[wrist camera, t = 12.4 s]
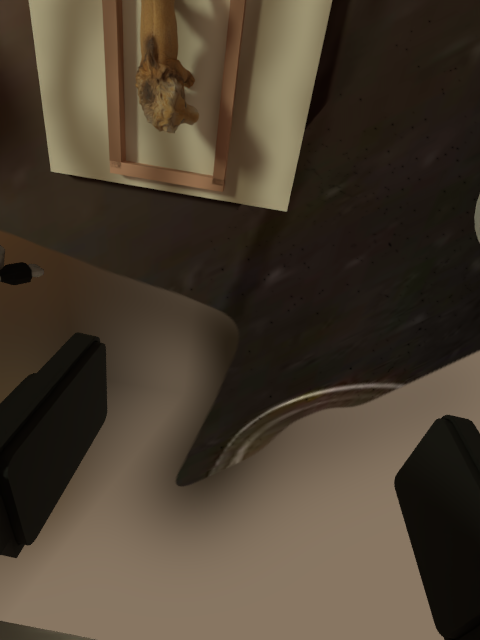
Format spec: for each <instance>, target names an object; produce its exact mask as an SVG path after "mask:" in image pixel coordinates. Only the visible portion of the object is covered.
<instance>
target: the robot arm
mask: <svg viewBox="0 0 480 640" xmlns="http://www.w3.org/2000/svg"><path fill="white" fill-rule="evenodd" d="M475 230H476V234H477V237H478V240H479V242H480V195H479V198H478V201H477V204H476V211H475ZM106 383H107V382H106V347H105V344H103V343H100V339H99V337H96V336H92V335H87V334H83V333H75V334H74V335H73V336H72V337H71V338H70V339H69V340H68V341H67V342H66V343H65V344H64V345H63V346H62V347H61V349H60V350H59V351H58V352H57V353H56V354H55V355H54V356H53V357H52V358H51V359H50V360H49V361H48V362H47V363H46V364H45V365H44V366H43V367H42V368H41V369H40V370H39V371H38V372H37V373H33V374H31V375H29V376H28V377H27V378H25V379H24V380H23V381H22V382H21V383H20V384H19V385H18V386H17V387H16V388H15V389H14V390H13V391H12V392H11V393H10V394H9V396H7V397H6V398H5V399H4V401H2V403H1V404H0V555H5V556H9V557H14V558H17V557H18V555H19V553H20V552H21V550H22V548H23V547H24V545H31V544H32V543H33V542H34V540H35V539H36V538H37V536H38V534H39V533H40V531H41V529H42V528H43V526H44V524H45V523H46V520H47V519H48V517H49V516H50V514H51V512H52V510H53V509H54V507H55V505H56V504H57V502H58V500H59V499H60V497H61V495H62V493H63V492H64V490H65V488H66V486H67V485H68V483H69V481H70V480H71V478H72V476H73V475H74V473H75V471H76V470H77V468H78V466H79V464H80V463H81V461H82V459H83V457H84V456H85V454H86V452H87V451H88V449H89V447H90V446H91V444H92V442H93V440H94V439H95V437H96V435H97V434H98V432H99V430H100V428H101V427H102V425H103V423H104V421H105V418H106V415H107V386H106V385H107V384H106ZM394 484H395V490H396V493H397V497H398V500H399V504H400V507H401V511H402V514H403V517H404V521H405V524H406V528H407V531H408V534H409V538H410V541H411V545H412V548H413V551H414V555H415V558H416V562H417V565H418V569H419V572H420V575H421V579H422V582H423V585H424V589H425V592H426V596H427V599H428V602H429V606H430V609H431V613H432V616H433V619H434V623H435V626H436V628H437V630H438V632H439V633H440V634H441V636H443V637H444V640H480V433H479V431H478V430H477V429H476V427H475V425H474V424H473V422H472V421H470V420H469V419H465V418H460V417H456V416H451V415H445V416H443V417H442V418H441V419H437V420H436V421H435V422H434V423H433V425H432V426H431V427H430V429H429V430H428V431H427V433H426V434H425V436H424V437H423V438H422V440H421V441H420V443H419V444H418V445H417V447H416V448H415V450H414V451H413V452H412V454H411V455H410V457H409V458H408V459H407V461H406V462H405V463H404V465H403V466H402V468H401V469H400V470H399V472H398V473H397V475H396V477H395V482H394ZM0 640H95V639H90V638H85V637H81V636H76V635H71V634H66V633H60V632H55V631H50V630H44V629H40V628H34V627H29V626H24V625H19V624H14V623H8V622H3V621H0Z"/></svg>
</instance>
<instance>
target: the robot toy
mask: <svg viewBox="0 0 480 640" xmlns="http://www.w3.org/2000/svg"><path fill="white" fill-rule="evenodd" d="M4 254H5V249H4V248H3V247H2V246H1V245H0V281H1V282H4V283H8V284H11V285H18V284H23V283H27V282H30V281H31V279H32V277H40V276H42V275H43V274H44V270H43V269H42V268H40V267H39V266H38V265H36V264H29V265H27V264H26V263H23V262H21V263H15V264H9V265H5V266H4Z"/></svg>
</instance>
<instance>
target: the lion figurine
mask: <svg viewBox="0 0 480 640" xmlns="http://www.w3.org/2000/svg"><path fill="white" fill-rule="evenodd" d="M174 2H175V0H141V25H140V45H141V56H142V58H141V63H140V66H139V67H138V71H137V74H136V84H135V86H136V87H137V89H138V96H139V104H140V105H141V106H142V110H143V111H144V115H145V117H146V119H147V122H148V123H151V124H152V125H153V126H154V127H155V128H156V129H158V130H159V132H161V131H165V132H168V133H173V134H174V133H175V131H176V130H177V129H178V126H179V125H180V124H183V123H186V124H189V125H193V124H195V123H196V122H197V121H198V119H199V113H198V110H197V109H196V108H195V107H194V106H191V105H188V104H187V103H186V101H185V92H184V86H185V87H188V88H190V87H191V86H193V84H194V82H195V79H194V77H193V76H192V74H191V73H190V71H188V70H186V69H185V68H184V67H183V66H182V64H181V62H180V61H179V60H177V56H178V34H177V20H176V15H175V10H174Z"/></svg>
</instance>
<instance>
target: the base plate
mask: <svg viewBox="0 0 480 640" xmlns="http://www.w3.org/2000/svg"><path fill="white" fill-rule="evenodd" d="M331 4H332V0H175V2H174V10H175V15H176V20H177V34H178V56H177V60H179V61H180V62H181V64H182V66H183V67H184V68H185V69H186V70H188V71H190V73H191V74H192V76H193V77H194V79H195V82H194V84H193V86H191V87H190V88H188V87H185V86H184V92H185V101H186V103H187V104H188V105H191V106H194V107H195V108H196V109H197V110H198V113H199V119H198V121H197V122H196V123H195V124H193V125H189V124H186V123H183V124H180V125H179V126H178V129H177V130H176V131H175V133H174V134H173V133H168V132H165V131H161V132H159V130H158V129H156V128H155V127H154V126H153V125H152V124H151V123H148V122H147V119H146V117H145V115H144V111H143V110H142V106H141V105H140V104H139V96H138V89H137V87H136V86H135V84H136V74H137V71H138V67H139V66H140V63H141V58H142V56H141V45H140V25H141V0H29V6H30V13H31V21H32V29H33V37H34V44H35V52H36V60H37V67H38V75H39V83H40V90H41V98H42V106H43V113H44V121H45V129H46V136H47V144H48V152H49V159H50V167H51V172H57V173H63V174H69V175H75V176H81V177H87V178H92V179H98V180H104V181H110V182H116V183H122V184H128V185H134V186H139V187H145V188H151V189H157V190H163V191H169V192H175V193H181V194H186V195H192V196H198V197H204V198H210V199H216V200H222V201H228V202H234V203H239V204H245V205H251V206H257V207H263V208H269V209H275V210H281V211H286V212H287V208H288V203H289V199H290V194H291V189H292V185H293V180H294V176H295V171H296V166H297V162H298V157H299V152H300V148H301V143H302V138H303V134H304V129H305V125H306V120H307V115H308V111H309V106H310V101H311V97H312V92H313V87H314V83H315V78H316V74H317V69H318V64H319V60H320V55H321V50H322V46H323V41H324V36H325V32H326V27H327V23H328V18H329V13H330V9H331Z"/></svg>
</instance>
